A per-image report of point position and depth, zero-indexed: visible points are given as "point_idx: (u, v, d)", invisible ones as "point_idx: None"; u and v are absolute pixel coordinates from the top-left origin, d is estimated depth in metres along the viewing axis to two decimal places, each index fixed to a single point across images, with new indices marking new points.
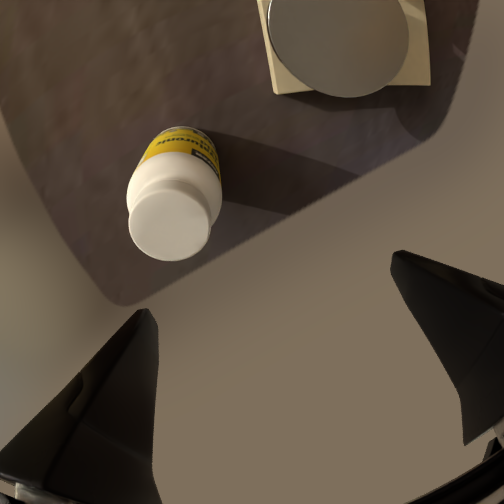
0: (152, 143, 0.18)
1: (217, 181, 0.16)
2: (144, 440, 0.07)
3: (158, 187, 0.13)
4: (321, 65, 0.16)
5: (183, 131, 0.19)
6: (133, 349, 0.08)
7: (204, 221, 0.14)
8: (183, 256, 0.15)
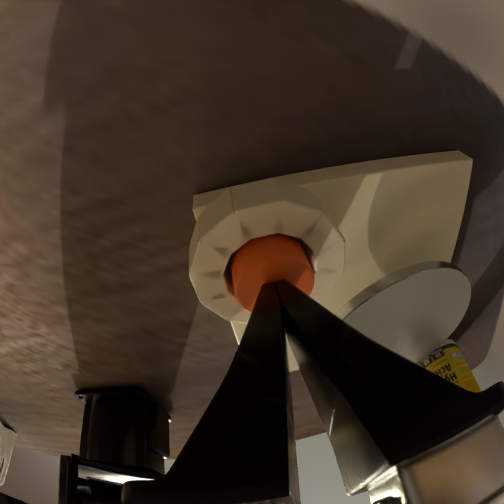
0: None
1: None
2: (293, 420, 0.07)
3: None
4: (428, 344, 0.16)
5: None
6: (282, 321, 0.08)
7: None
8: None
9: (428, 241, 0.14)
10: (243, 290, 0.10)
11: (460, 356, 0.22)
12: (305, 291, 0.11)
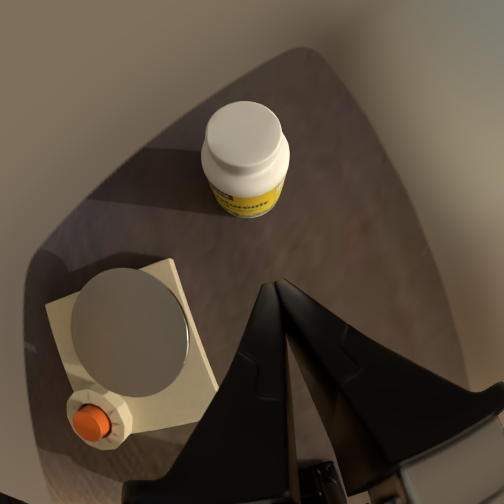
0: (273, 201, 0.22)
1: (206, 174, 0.18)
2: (293, 420, 0.07)
3: (254, 167, 0.15)
4: (136, 293, 0.20)
5: (246, 214, 0.23)
6: (283, 321, 0.08)
7: (210, 140, 0.15)
8: (229, 106, 0.15)
9: None
10: (89, 438, 0.18)
11: None
12: (84, 415, 0.19)
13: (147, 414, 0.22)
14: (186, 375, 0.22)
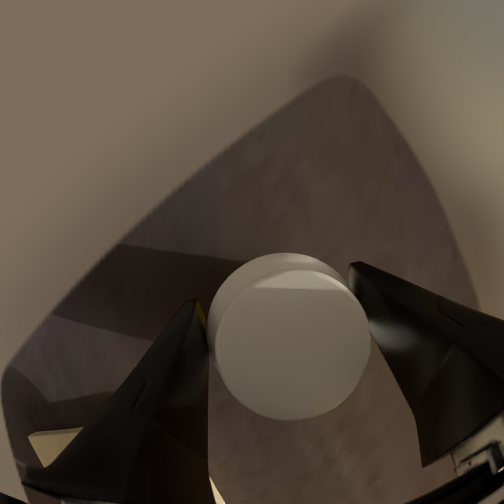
0: None
1: (218, 371, 0.10)
2: (201, 436, 0.07)
3: (315, 413, 0.07)
4: None
5: None
6: (191, 340, 0.08)
7: (228, 370, 0.07)
8: (264, 286, 0.07)
9: None
10: None
11: None
12: None
13: None
14: None
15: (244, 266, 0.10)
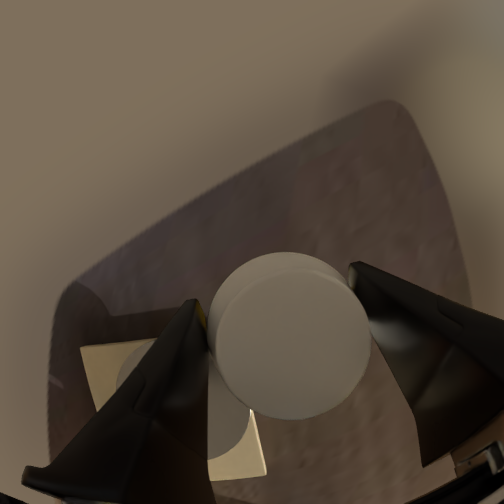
0: None
1: None
2: (202, 435, 0.07)
3: (315, 412, 0.07)
4: None
5: None
6: (191, 340, 0.08)
7: (228, 369, 0.07)
8: (264, 285, 0.07)
9: None
10: None
11: None
12: None
13: None
14: None
15: (244, 265, 0.10)
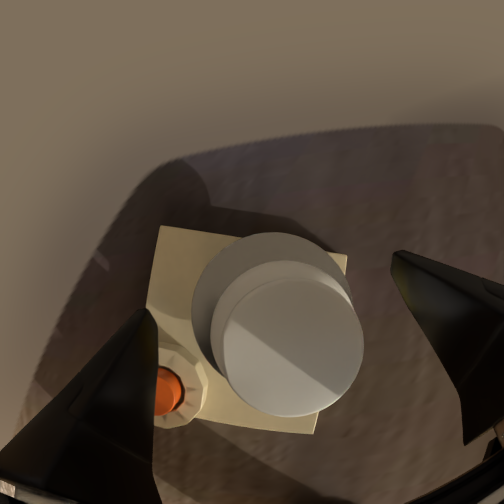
0: None
1: (222, 372, 0.11)
2: (144, 440, 0.07)
3: (311, 410, 0.08)
4: None
5: None
6: (133, 349, 0.08)
7: (231, 370, 0.08)
8: (264, 293, 0.08)
9: None
10: None
11: None
12: (160, 382, 0.16)
13: (226, 404, 0.19)
14: None
15: (246, 273, 0.11)
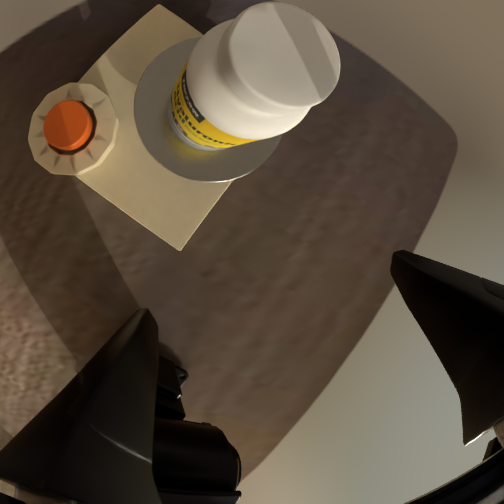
0: (239, 144, 0.16)
1: (189, 70, 0.10)
2: (144, 439, 0.07)
3: (273, 107, 0.09)
4: None
5: (198, 140, 0.15)
6: (133, 349, 0.08)
7: (237, 32, 0.07)
8: (291, 8, 0.08)
9: None
10: (50, 136, 0.13)
11: None
12: (81, 112, 0.14)
13: (117, 177, 0.18)
14: (195, 188, 0.20)
15: None
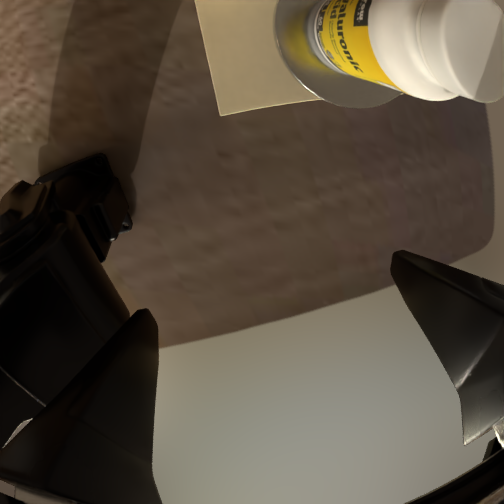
0: (355, 75, 0.13)
1: None
2: (144, 439, 0.07)
3: (443, 65, 0.06)
4: None
5: (326, 42, 0.12)
6: (133, 349, 0.08)
7: None
8: None
9: None
10: None
11: None
12: None
13: (225, 15, 0.14)
14: (279, 78, 0.17)
15: None
